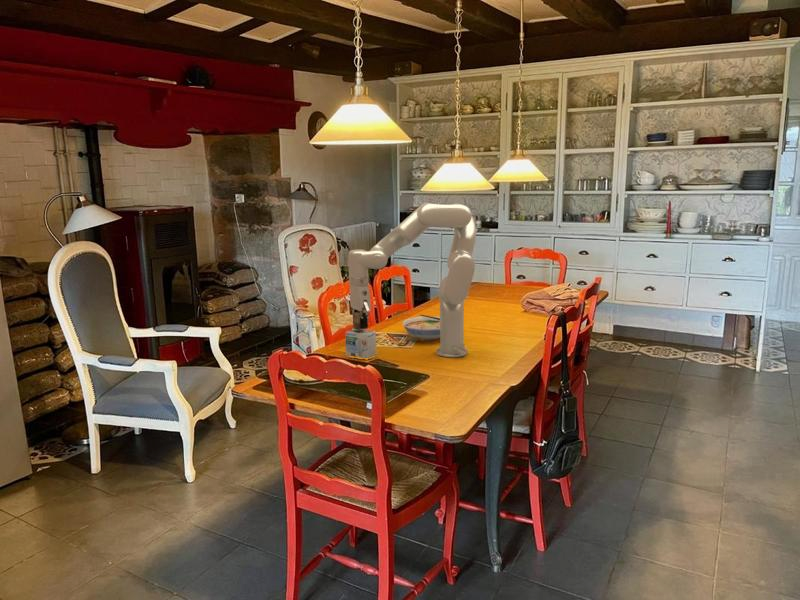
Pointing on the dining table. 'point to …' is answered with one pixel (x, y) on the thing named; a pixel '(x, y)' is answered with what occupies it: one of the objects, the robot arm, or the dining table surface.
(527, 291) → the dining table surface
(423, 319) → the ramen bowl
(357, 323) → the walnut cylinder
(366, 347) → the light bulb box
